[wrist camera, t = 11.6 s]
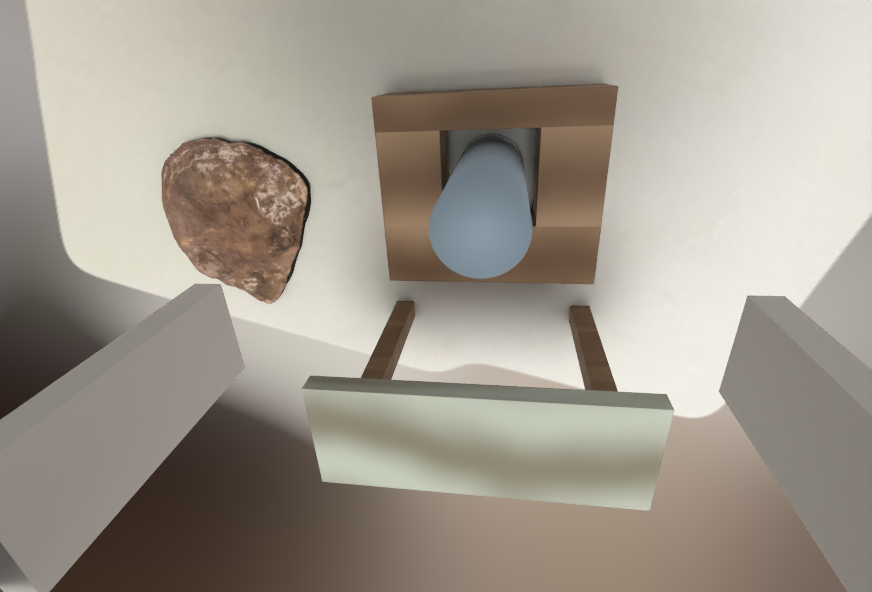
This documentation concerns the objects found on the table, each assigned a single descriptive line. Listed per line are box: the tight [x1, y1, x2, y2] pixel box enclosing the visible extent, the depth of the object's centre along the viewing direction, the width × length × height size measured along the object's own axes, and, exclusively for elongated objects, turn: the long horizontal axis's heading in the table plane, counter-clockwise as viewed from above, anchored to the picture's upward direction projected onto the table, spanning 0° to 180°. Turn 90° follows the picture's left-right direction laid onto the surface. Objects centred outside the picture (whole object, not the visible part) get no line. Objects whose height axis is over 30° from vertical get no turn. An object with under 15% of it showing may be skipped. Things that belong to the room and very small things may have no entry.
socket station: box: [302, 84, 674, 510], centre depth 26 cm, size 18×16×17 cm
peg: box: [429, 134, 532, 279], centre depth 25 cm, size 4×4×14 cm
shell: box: [162, 138, 311, 304], centre depth 35 cm, size 12×13×4 cm
